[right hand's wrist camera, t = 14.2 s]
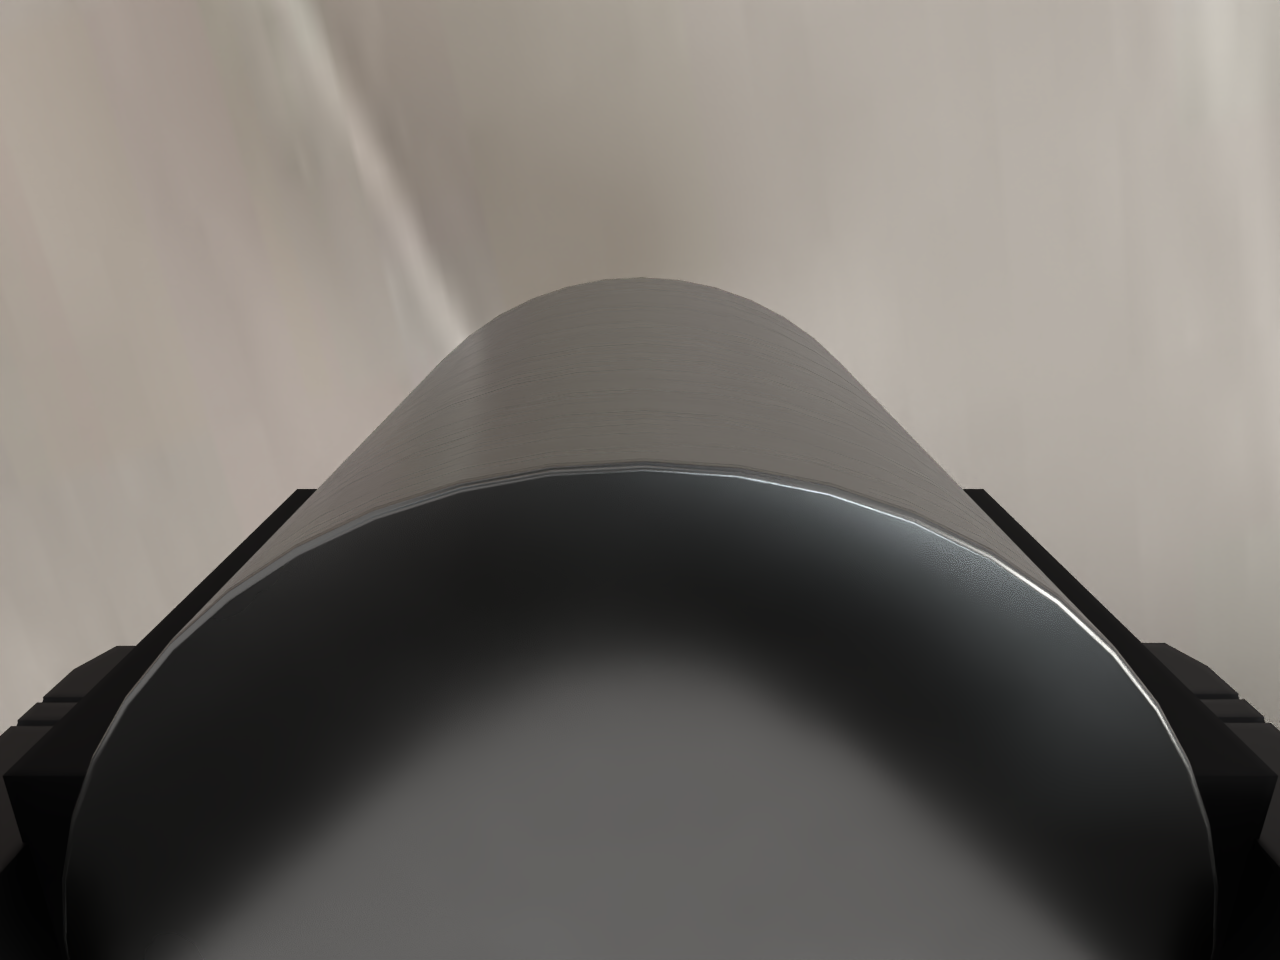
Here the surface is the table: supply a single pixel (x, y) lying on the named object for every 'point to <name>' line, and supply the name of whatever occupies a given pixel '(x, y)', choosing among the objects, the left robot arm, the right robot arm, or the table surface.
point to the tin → (639, 690)
